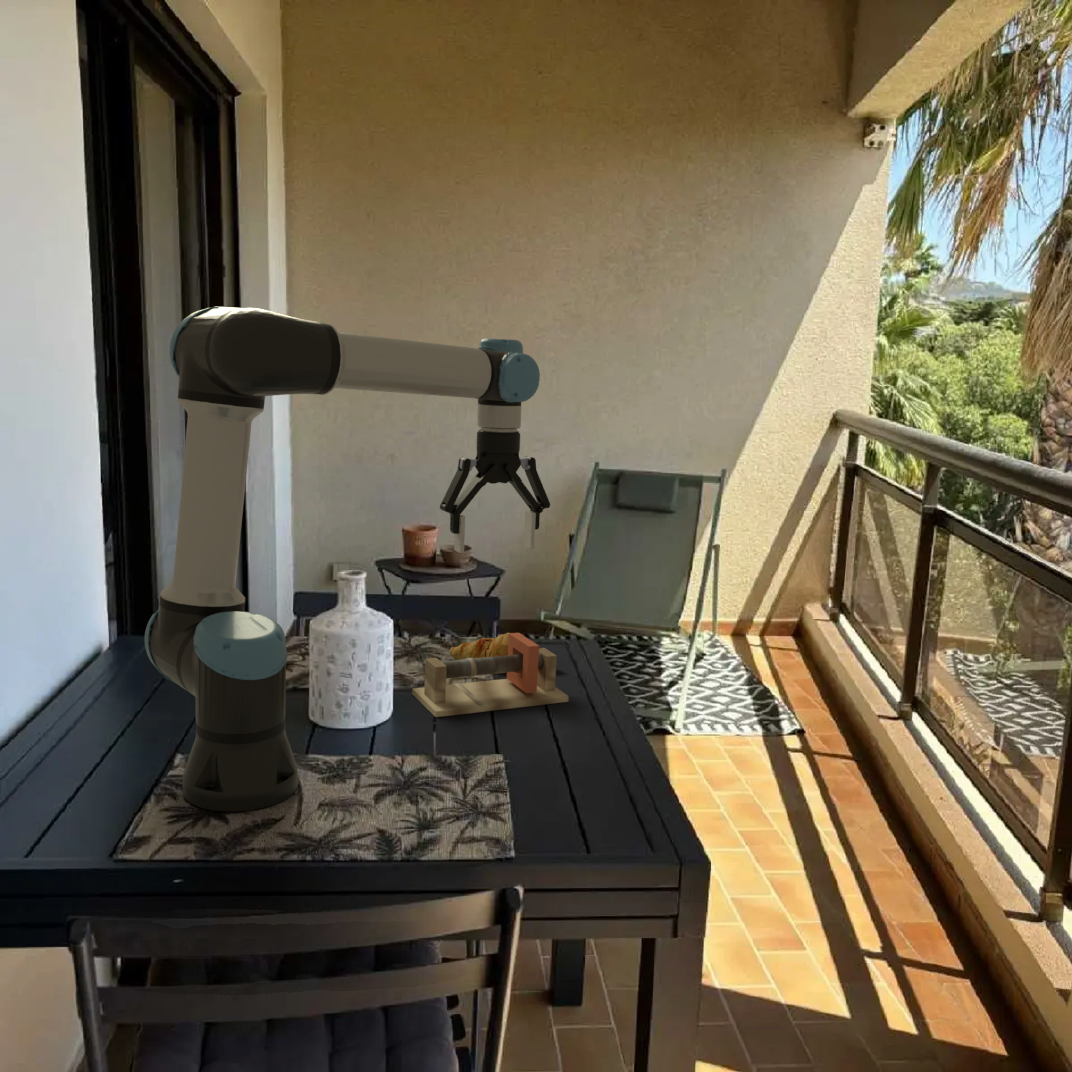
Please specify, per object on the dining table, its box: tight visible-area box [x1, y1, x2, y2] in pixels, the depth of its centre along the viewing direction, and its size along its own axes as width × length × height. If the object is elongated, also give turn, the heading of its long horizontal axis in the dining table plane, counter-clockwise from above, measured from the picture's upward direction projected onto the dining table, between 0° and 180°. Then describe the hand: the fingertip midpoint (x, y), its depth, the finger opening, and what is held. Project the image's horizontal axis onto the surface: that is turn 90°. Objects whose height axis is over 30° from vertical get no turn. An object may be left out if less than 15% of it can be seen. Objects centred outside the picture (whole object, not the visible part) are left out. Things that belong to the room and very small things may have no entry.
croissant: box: [449, 632, 510, 660], centre depth 197 cm, size 21×10×8 cm, turn 83°
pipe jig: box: [411, 647, 569, 718], centre depth 178 cm, size 25×12×8 cm, turn 116°
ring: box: [506, 632, 540, 693], centre depth 180 cm, size 2×8×8 cm, turn 26°
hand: (494, 549), depth 178 cm, fingers open, 13 cm apart
